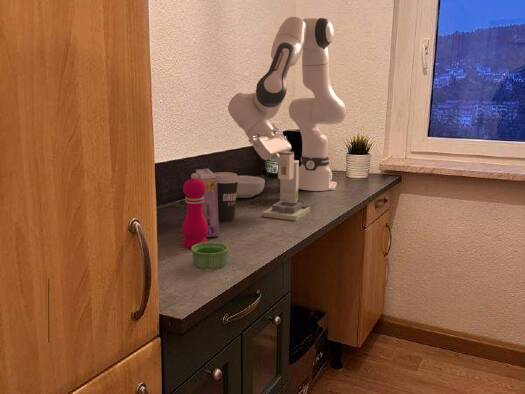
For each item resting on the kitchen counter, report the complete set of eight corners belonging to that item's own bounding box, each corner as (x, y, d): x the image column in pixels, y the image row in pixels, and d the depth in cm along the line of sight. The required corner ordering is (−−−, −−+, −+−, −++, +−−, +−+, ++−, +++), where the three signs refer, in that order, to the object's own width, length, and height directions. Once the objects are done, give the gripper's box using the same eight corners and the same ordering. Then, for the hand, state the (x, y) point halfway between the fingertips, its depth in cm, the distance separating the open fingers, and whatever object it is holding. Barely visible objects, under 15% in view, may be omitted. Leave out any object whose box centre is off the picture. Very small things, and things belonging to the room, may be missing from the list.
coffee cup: (216, 224, 154) (216, 177, 151) (205, 217, 163) (205, 172, 159) (243, 220, 159) (244, 175, 155) (231, 214, 167) (231, 171, 164)
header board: (278, 207, 177) (278, 198, 176) (309, 211, 172) (310, 201, 172) (263, 216, 165) (263, 206, 164) (296, 220, 160) (296, 210, 159)
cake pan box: (195, 221, 157) (195, 167, 153) (211, 220, 158) (211, 167, 154) (202, 239, 139) (201, 178, 135) (219, 238, 140) (219, 177, 136)
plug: (282, 177, 169) (283, 151, 167) (293, 178, 167) (294, 151, 165) (278, 178, 165) (278, 152, 163) (289, 179, 164) (289, 153, 162)
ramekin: (218, 273, 113) (218, 255, 112) (184, 267, 117) (184, 250, 116) (234, 261, 122) (234, 244, 121) (202, 256, 125) (202, 240, 124)
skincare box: (295, 203, 185) (297, 162, 181) (278, 202, 186) (279, 161, 182) (298, 198, 193) (299, 159, 189) (282, 197, 194) (283, 159, 191)
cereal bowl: (246, 202, 184) (246, 184, 183) (214, 196, 194) (214, 179, 193) (272, 195, 198) (273, 178, 196) (241, 190, 207) (241, 173, 206)
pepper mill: (182, 241, 136) (181, 170, 132) (208, 241, 137) (208, 171, 133) (180, 249, 129) (179, 175, 125) (208, 249, 130) (207, 175, 126)
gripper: (255, 129, 156) (282, 162, 154) (279, 126, 174) (304, 155, 173) (242, 142, 159) (269, 174, 157) (267, 137, 177) (292, 166, 175)
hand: (287, 164), depth 165 cm, fingers closed on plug, 4 cm apart
